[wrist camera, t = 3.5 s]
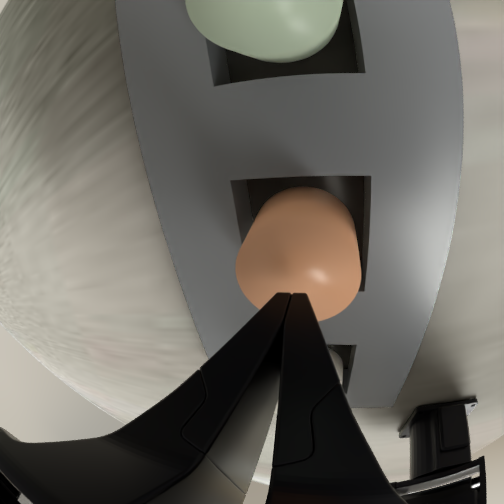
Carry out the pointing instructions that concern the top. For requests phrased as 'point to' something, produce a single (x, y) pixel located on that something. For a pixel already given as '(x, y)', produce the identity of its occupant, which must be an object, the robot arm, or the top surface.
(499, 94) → the top surface
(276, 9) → the button sage
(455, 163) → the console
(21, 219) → the top surface
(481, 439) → the top surface
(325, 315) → the button terracotta
